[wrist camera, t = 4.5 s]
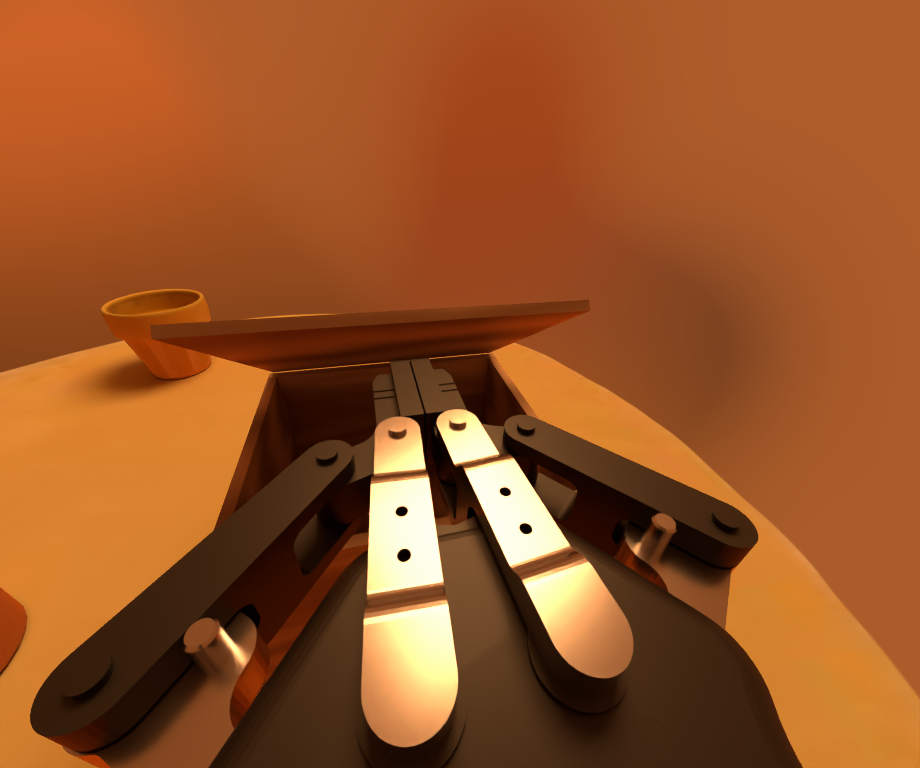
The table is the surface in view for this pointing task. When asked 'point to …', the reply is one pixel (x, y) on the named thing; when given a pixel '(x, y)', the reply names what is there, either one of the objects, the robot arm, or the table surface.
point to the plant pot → (155, 308)
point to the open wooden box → (353, 421)
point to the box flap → (366, 335)
